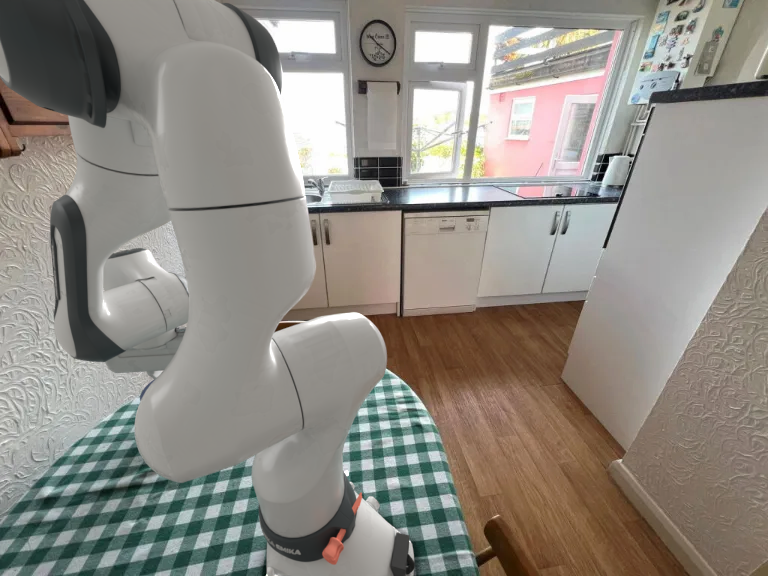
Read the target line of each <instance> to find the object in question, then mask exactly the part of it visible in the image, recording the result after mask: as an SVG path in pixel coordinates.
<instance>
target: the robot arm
mask: <svg viewBox="0 0 768 576" xmlns="http://www.w3.org/2000/svg"><path fill="white" fill-rule="evenodd" d="M0 80H1V81H2V82H3V84H4V85H5V86H6V87H7V88H8V89H10V90H12V92H14V93H16V94H17V95H19V96H20V97H22V98H23V99H25V100H27V101H28V102H30V103H32V104H34V105H35V106H37V107H39V108H42V109H45V110H48V111H51V112H54V113H57V114H62V115H65V116H67V118H68V124H69V129H70V134H71V138H72V143H73V147H74V151H75V155H76V156H75V157H76V171H75V175H74V177H73V181H72V183H71V185H70V187H69V188H68V190H67V191H66V193H65V194H63V195H62V196H60V197H58V198H57V199H56V200H55V201H53V202H52V206H51V208H50V215H49V236H50V237H49V238H50V253H51V262H52V263H51V265H52V275H53V286H54V287H53V288H54V300H55V303H54V309H53V329H54V331H53V332H54V334H55V337H56V340H57V341H58V343H59V345H60V347H61V348H62V349H63V350H64V351H65V352H66V353H67V354H68V355H69V356H70V357H71V358H72V359H75V360H78V361H84V362H93V363H105V365H106V367H107V369H108V370H109V371H111V372H112V373H114V374H127V373H143V372H144V373H146V374H147V375H148V376H149V377H150V378H152V379H153V380H154V379H155V380H154V381H153V380H152V381H153V382H152V383H151V385H150V386H149V387H148V389H147V390H146V392H145V394H144V396H143V397H142V399H141V402H140V401H139V404H138V407H137V410H136V413H135V419H134V441H135V444H136V448H137V450H138V453H139V455H140V456H141V459H142V460H143V461H144V463H145V464H146V465H147V466H148V467H149V469H151V471H153V472H155V473H156V474H157V475H158V476H160V477H162V478H164V479H167V480H169V481H172V482H174V483H175V482H176V483H179V484H184V483H187V482H191V481H193V480H196V479H199V478H203V477H205V476H208V475H211V474H215V473H217V472H221V471H224V470H227V469H229V468H232V467H235V466H237V465H240V464H241V463H243V462H245V461H247V460H249V459H251V458H253V461H252V466H251V473H250V475H251V482H252V486H253V489H254V492H255V496H256V499H257V502H258V507H257V508H258V509H257V510H258V522H259V526H260V530H261V532H262V535H263V536H264V538H265V541H266V575H265V576H415V568H416V563H415V554H414V553H415V552H414V548H413V543H412V542H411V540H410V535H409V534H405V533H401V532H400V530H398V529H397V528H395V527H394V526H393V525H392V524H391V523H389V522H388V521H387V519H385V518H384V517H383V516H382V515H381V514H380V513H379V512H378V511H379V509H380V508H381V507H380V506H381V505H380V502H379V501H378V500H377V499H376V498H375V497H374V496H372V495H370V496H368V497H367V498H366V499H364V497H363V493H362V492H359V493H358V492H357V491H356V490H355V488H356V485H354V483H353V482H352V481H350V480H349V478H348V476H349V471H348V470H345V471H344V448H345V444H346V441H347V439H348V435H349V433H350V430H351V429H352V425H353V423H354V421H355V420H356V417H357V415H358V413H359V412H360V409H361V407H362V406H363V404H364V403H365V401H366V400H367V398H368V397H369V396H370V394H371V392H372V391H373V390H374V388H375V387H376V386H377V385H379V383H380V382H381V380H383V378H384V376H385V373H386V371H387V363H388V354H387V353H388V351H387V345H386V342H385V340H384V337H383V335H382V332H380V330H379V327H377V326H376V325H375V324H374V322H372V321H371V320H370V319H369V318H368V317H366V316H365V315H363V314H361V313H360V312H356V311H351V312H343V313H342V312H341V313H334V314H327V315H321V316H317V317H314V318H311V319H308V320H305V321H303V322H300V323H297V324H294V325H291V326H289V327H286V328H283V329H280V330H277V328H278V326H279V324H280V323H281V321H282V320H283V319H284V317H285V316H286V315H287V314H288V313H289V312H290V311H291V310H292V309H293V308H294V307H295V306H296V305H297V304H298V303H299V302H300V301H301V300H302V299H303V298H304V297H305V296H306V295H307V293H308V292H309V291H310V290H311V287H312V286H313V282H314V280H315V276H316V271H317V261H316V254H315V247H314V241H313V234H312V228H311V220H310V214H309V208H308V201H307V196H306V188H305V184H304V183H305V182H304V177H303V176H304V175H303V172H302V167H301V164H300V163H301V162H300V157H299V154H298V150H297V145H296V142H295V138H294V134H293V131H292V127H291V124H290V120H289V117H288V115H287V111H286V109H285V105H284V103H283V99H282V94H283V86H284V73H283V67H282V61H281V57H280V53H279V50H278V47H277V45H276V42H275V40H274V37H273V36H272V35H271V32H269V30H268V29H267V28H266V27H265V26H264V25H263V24H262V23H261V22H260V21H259V20H257V19H256V18H255V17H253V16H252V15H251V14H249V13H247V12H246V11H244V10H242V9H241V8H239V7H237V6H236V5H233V4H231V3H229V2H222V3H220V2H219V1H218V0H0ZM170 222H171V224H172V228H173V231H174V235H175V239H176V241H177V245H178V246H177V247H178V249H179V253H180V257H181V262H182V267H183V270H184V276H183V275H181V274H178V273H175V272H171V271H167V270H165V269H164V268H163V267H162V266H161V265H160V264H159V263H158V261H157V260H156V258H155V257H154V255H153V253H152V251H151V250H149V249H148V248H143V247H136V248H131V249H125V250H120V249H121V248H122V247H124V246H125V245H127V244H129V243H131V242H132V241H134V240H136V239H137V238H139V237H141V236H143V235H145V234H147V233H150V232H151V231H153V230H156V229H158V228H160V227H163V226H165V225H167V224H168V223H170ZM118 250H120V251H118ZM183 325H186V326H183ZM276 330H277V331H276Z"/></svg>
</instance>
